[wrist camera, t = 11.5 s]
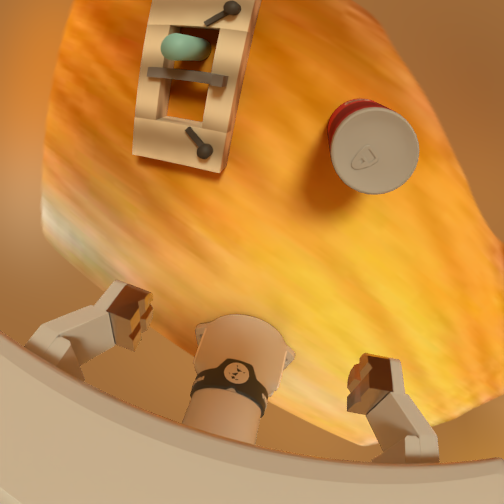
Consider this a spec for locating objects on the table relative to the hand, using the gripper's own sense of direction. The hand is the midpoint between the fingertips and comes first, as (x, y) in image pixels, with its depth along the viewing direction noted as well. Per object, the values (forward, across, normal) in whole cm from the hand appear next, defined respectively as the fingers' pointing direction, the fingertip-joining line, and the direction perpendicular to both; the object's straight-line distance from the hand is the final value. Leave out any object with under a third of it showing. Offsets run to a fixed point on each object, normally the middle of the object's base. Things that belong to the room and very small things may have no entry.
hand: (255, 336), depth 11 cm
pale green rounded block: (+29, +14, -9) cm, 34 cm away
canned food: (+29, -6, -4) cm, 30 cm away
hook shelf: (+29, +14, -6) cm, 33 cm away
